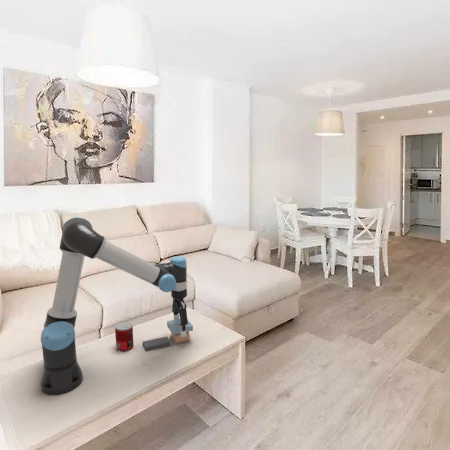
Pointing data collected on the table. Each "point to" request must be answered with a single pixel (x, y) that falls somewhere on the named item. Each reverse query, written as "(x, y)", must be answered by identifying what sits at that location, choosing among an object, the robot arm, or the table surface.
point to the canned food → (124, 336)
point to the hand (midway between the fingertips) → (179, 331)
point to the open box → (180, 338)
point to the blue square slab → (178, 326)
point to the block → (156, 343)
